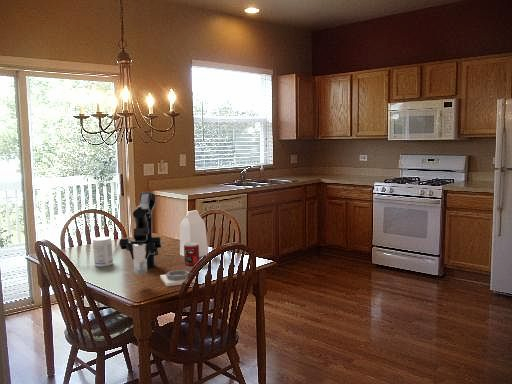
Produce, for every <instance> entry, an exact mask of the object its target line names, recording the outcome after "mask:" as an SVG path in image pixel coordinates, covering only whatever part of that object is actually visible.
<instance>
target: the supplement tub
mask: <svg viewBox="0 0 512 384" xmlns="http://www.w3.org/2000/svg"><path fill="white" fill-rule="evenodd" d="M112 245H113V244H112V238H111V236H97V237H95V238H93V239H92V246H93V247H92V248H93V260H94V265H95V266H96V267H97V268H98V267H99V268H100V267H101V268H102V267H103V268H104V267H108V266H111V265H113V263H114V259H113V246H112Z"/></svg>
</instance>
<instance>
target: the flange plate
mask: <svg viewBox="0 0 512 384" xmlns="http://www.w3.org/2000/svg"><path fill="white" fill-rule="evenodd" d="M188 273H190V272H189V271H188V270H185V269H183V270H182V269H177V270H170V271H167V272H166V274H160V275H159V276H160V277H159V278H160V280H161V281H162V283H163V284H164V285H165V286H166V287H172V286H178V285H179V286H180V285H183V284H182V283H183V281H184V280H185V278H186V277H187V275H188ZM193 282H194V280H193V281H192V283H191V284H194V283H195V282H194V283H193Z"/></svg>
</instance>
